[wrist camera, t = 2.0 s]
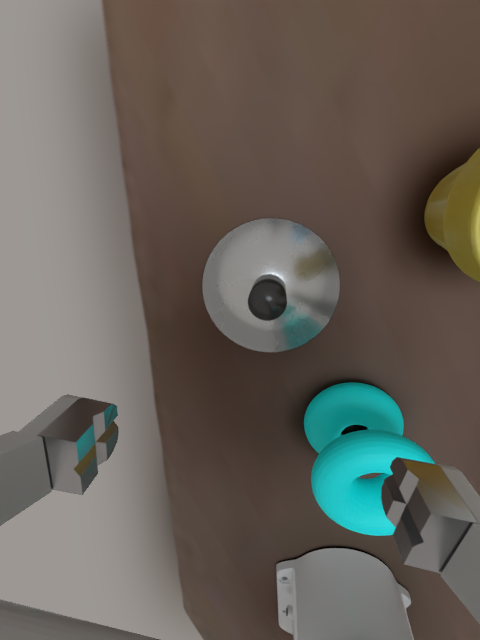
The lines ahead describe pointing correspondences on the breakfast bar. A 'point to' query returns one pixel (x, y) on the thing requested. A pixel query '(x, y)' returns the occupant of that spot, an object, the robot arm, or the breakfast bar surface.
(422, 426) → the breakfast bar surface
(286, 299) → the steel lid
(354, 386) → the donuts
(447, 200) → the plant pot
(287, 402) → the breakfast bar surface
